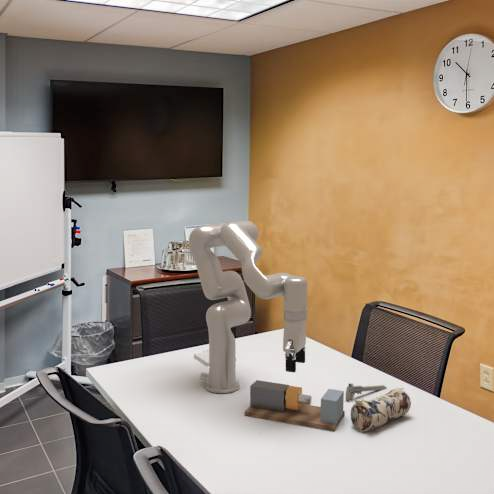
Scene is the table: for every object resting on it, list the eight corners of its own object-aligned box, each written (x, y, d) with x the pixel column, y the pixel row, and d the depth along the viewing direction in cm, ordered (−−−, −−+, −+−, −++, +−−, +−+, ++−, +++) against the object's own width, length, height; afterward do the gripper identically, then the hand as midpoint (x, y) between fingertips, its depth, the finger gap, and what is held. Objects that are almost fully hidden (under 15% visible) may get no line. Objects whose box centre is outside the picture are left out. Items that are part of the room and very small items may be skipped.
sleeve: (250, 407, 207) (250, 386, 206) (256, 400, 212) (256, 380, 211) (283, 413, 202) (283, 391, 201) (289, 406, 208) (289, 385, 206)
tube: (254, 402, 207) (254, 385, 206) (259, 398, 211) (259, 381, 210) (308, 411, 200) (308, 393, 199) (312, 406, 204) (312, 389, 203)
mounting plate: (239, 364, 254) (238, 359, 254) (210, 369, 248) (210, 364, 248) (218, 351, 270) (218, 347, 269) (191, 356, 263) (191, 352, 263)
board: (244, 415, 204) (244, 411, 204) (259, 401, 216) (259, 396, 215) (334, 431, 192) (334, 426, 192) (344, 415, 204) (344, 410, 204)
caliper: (347, 402, 215) (348, 385, 214) (345, 401, 216) (345, 384, 215) (387, 388, 228) (387, 372, 227) (384, 387, 229) (385, 371, 228)
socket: (320, 421, 196) (320, 398, 195) (328, 410, 204) (328, 388, 203) (336, 424, 194) (336, 401, 193) (343, 413, 202) (343, 391, 201)
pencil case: (369, 437, 189) (370, 406, 188) (348, 427, 196) (348, 397, 194) (412, 417, 203) (413, 388, 202) (391, 409, 209) (392, 381, 208)
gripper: (292, 308, 208) (293, 357, 211) (275, 320, 192) (275, 374, 195) (314, 310, 205) (314, 360, 208) (298, 322, 190) (298, 377, 192)
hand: (295, 366), depth 201 cm, fingers open, 9 cm apart
